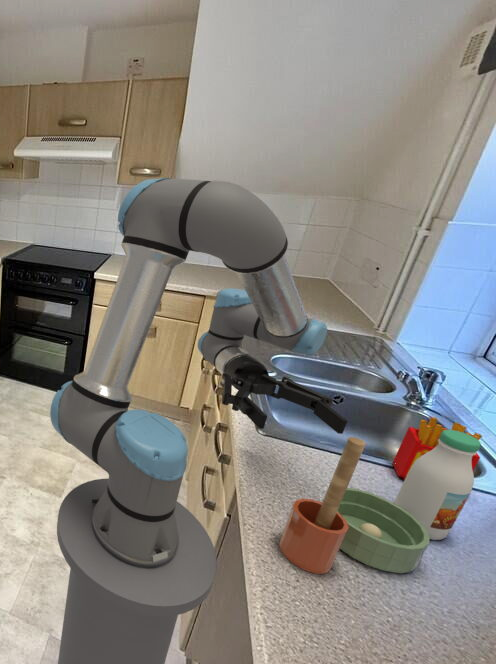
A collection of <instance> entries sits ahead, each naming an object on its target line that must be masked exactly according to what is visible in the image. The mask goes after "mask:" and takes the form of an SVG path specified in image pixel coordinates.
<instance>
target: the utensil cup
mask: <svg viewBox="0 0 496 664" xmlns="http://www.w3.org/2000/svg"><path fill="white" fill-rule="evenodd" d="M292 504H293V505H292V507H291V510H290V513H289V515H288V518H287V520H286V523H285V526H284V528H283V531H282V534H281V537H280V540H279V549H280V551H281V552H282V554H283V556H284V557H285V558H286V559H287V560H288V561H290V562H291V563H292V564H293V565H295V566H296V567H298V568H300V569H301V570H303V571H306V572H308V573H312V574H317V575H323V574H327V573H328V572H329V571H331V568H332V567H333V564H334V562H335V560H336V557H337V555H338V553H339V550H340V549H339V548H340V546H341V544H342V542H343V539H344V537H345V535H346V533H347V530H348V528H349V526H348V524H347V521H346V520H345V519H344V517H343V516H342V515H341V514H340V513H338V512H337V513H336V515H335V518H334V520H333V522H332V525H331V527H330V529H329V530H328V529H325V528H322V527H319V526H317V525H315V524H314V522H315V520H316V517H317V515H318V512H319V510H320V507H321V505H322V502H321V501H318V500H315V499H311V498H298V499H297V500H295V501H294V503H292Z"/></svg>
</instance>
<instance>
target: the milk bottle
mask: <svg viewBox="0 0 496 664" xmlns="http://www.w3.org/2000/svg"><path fill="white" fill-rule="evenodd" d="M465 433H466V432H464V433H463V432H459V431H455V430H451V429H448V430H444V431H443V432H442V433H441V435H440V439H438V442H439V444H438V445H437V446H436V447H435V448H434V449H432V450H431V451H429V452H428V453H426V454H424V455H422V456H421V457H420V458H418V459H417V460H416V461H415V463H414V464H413V465H412V467H411V469H410V471H409V472H408V474H407V476H406V478H405V480H403V482H402V485H401V487H400V489H399V491H398V493H397V495H396V496H395V498H394V501H393V503H394V504H396V505H398V506H400V507H401V508H403V509H404V510H406V511H407V512H408V513H410V514H411V515H412V516H414V517H415V518H416V519H417V520H418V521H419V522H420V523H421V524H422V525H423V526H424V527H425V529H426V530H427V532H428V534H429V536H430V540H433V541H440V540H443V539H446V538H447V536H448V535H449V533H450V532H451V530H452V529H453V526H454V525H455V523H456V521H457V519H458V518H459V515H460V514H461V512H462V510H463V508H464V506H465V504H466V502H467V501H468V500H469V497H470V495H471V494H472V493H471V492H472V491H473V487H474V483H475V476H474V470H472V456H473V455H476V452H477V453H478V451H479V450H480V448H481V446H482V443H481V442H480V440H479V441H478V440H477V439H476V438H474V437H472V436H470V435H468V434H465Z"/></svg>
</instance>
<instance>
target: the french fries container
mask: <svg viewBox="0 0 496 664" xmlns="http://www.w3.org/2000/svg"><path fill="white" fill-rule="evenodd" d="M437 422H438V418H437V417H433V416H431V417H430V419H429V421H427V420H426V419H420V421H419V426H418V427H419V428H416V427H413V426H409V427H408V428H407V429H406V433H405V434H404V436H403V439H402V441H401V442H400V445H399V448H398V449H397V452H396V454H395V456H394V458H393V460H392V462H391V463H392V465H393V468H394V471H395V473H396V475H397V478H401V479H402V480H403V481H404V480H405V478H406V476H407V474H408V472H409V471H410V469H411V467H412V465H413V464H414V463H415V461H416V460H417V459H418V458H420V457H421V456H422V455H424V454H426V453H428V452H429V451H431V450H432V449H434V448H435V447H436V446H437V445H438V444H439V442H438V439H440V435H441V433H442V432H443V431H444V430H449V429H447V428H446V427H443V425H442V424H438V423H437ZM467 428H468V427H466V426H464V425H462V424H461V423H459V422H453V424H452V427H451V429H450V430H455V431H459V432H463V433H465V434H468V435H470V436H472V437H474V438H476V439H477V440H478V441H480V440H481V439H482V437H483V435H482V434H481V433H477V432H475V433H474V434H472V433H470V432H467V431H466V430H467ZM480 459H481V456H480V455H479V453H478V451H477V452H476V455H473V456H472V470H473V471H474V470H475V468H476V466H477V464H478V463H479V460H480ZM395 463H396V464H395Z"/></svg>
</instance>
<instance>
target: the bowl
mask: <svg viewBox="0 0 496 664" xmlns="http://www.w3.org/2000/svg"><path fill="white" fill-rule="evenodd" d="M337 512H338V513H340V514H341V515H342V516H343V517H344V519H345V520H346V521H347V524H348V526H349V528H348V530H347V533H346V535H345V537H344V539H343V542H342V544H341V546H340V548H339V550H341V551H342V552H343V553H345V554H346V555H348V556H349V557H351V558H352V559H354V560H356V561H358V562H360V563H362V564H364V565H366V566H369V567H371V568H374V569H377V570H381V571H384V572H389V573H396V574H403V573H411V572H412V571H413V570H415V569H416V568H417V567H418V565H419V564H420V561H421V559H422V558H423V556H424V554H425V552H426V550H427V549H428V547H429V545H430V540H431V539H430V536H429V534H428V532H427V530H426V529H425V527H424V526H423V525H422V524H421V523H420V522H419V521H418V520H417V519H416V518H415V517H414V516H412V515H411V514H410V513H408V512H407V511H406V510H404V509H403V508H401V507H400V506H398V505H396V504H394V502H392V501H391V500H389V499H386V498H385V497H382V496H380V495H377V494H375V493H373V492H369V491H366V490H363V489H358V488H354V487H347V489H346V492H345V494H344V496H343V499H342V501H341V504H340V506H339V508H338V511H337ZM365 523H369V524H373V525H375V526H376V527H378V528H379V529H380V531H381V533H382V538H381V539H379V538H377V537H375V536H373V535H371V534H369V533H366V532H364V531H363V530H361V529H359V528H360V526H361V525H362V524H365Z"/></svg>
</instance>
